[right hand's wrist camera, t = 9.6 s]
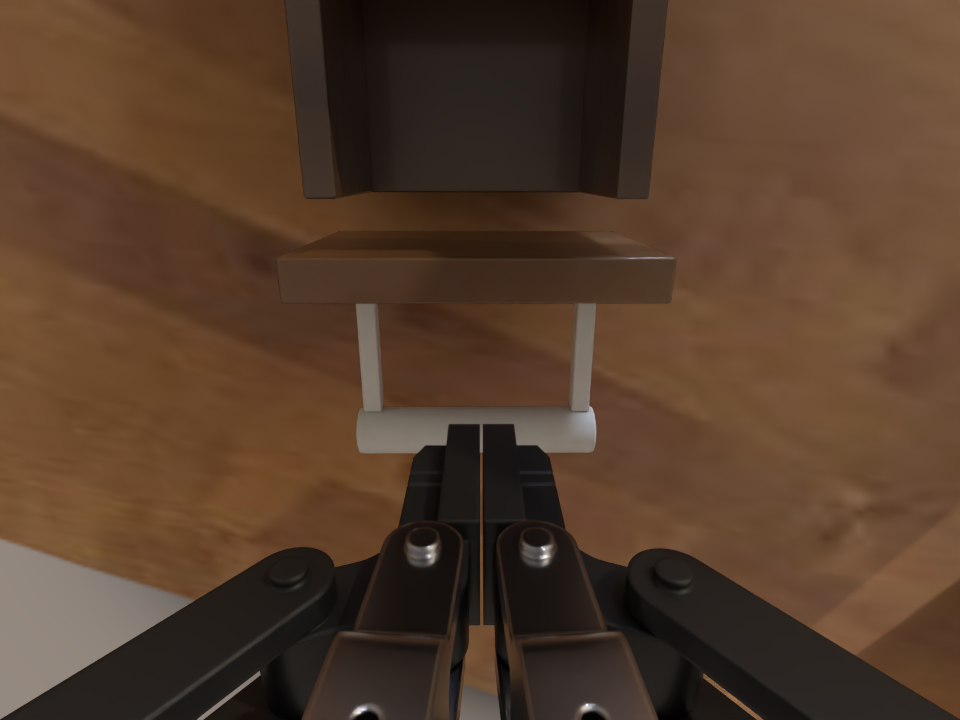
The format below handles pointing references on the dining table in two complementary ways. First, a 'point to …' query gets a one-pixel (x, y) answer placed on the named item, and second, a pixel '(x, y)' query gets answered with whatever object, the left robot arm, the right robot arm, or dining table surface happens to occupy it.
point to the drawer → (476, 174)
